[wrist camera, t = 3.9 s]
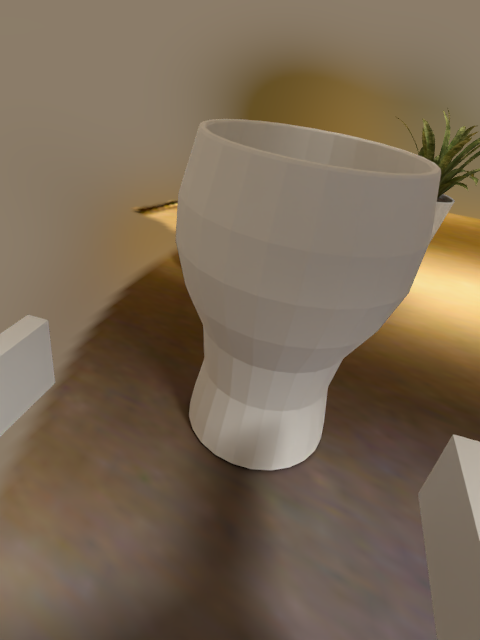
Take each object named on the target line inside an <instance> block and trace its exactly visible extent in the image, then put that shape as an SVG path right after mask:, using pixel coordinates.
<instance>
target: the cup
mask: <svg viewBox="0 0 480 640" xmlns="http://www.w3.org/2000/svg"><path fill="white" fill-rule="evenodd" d="M440 176H441V169H440V168H439V167H438V166H437V165H436V164H435V163H434V162H432V161H430V160H428V159H426V158H424V157H422V156H419V155H416V154H413V153H411V152H408V151H405V150H401V149H399V148H395V147H392V146H389V145H385V144H381V143H378V142H374V141H370V140H366V139H362V138H358V137H353V136H349V135H344V134H340V133H335V132H329V131H324V130H319V129H313V128H307V127H301V126H295V125H289V124H281V123H273V122H265V121H253V120H242V119H217V120H216V119H215V120H208V121H204V122H201V123H200V125H199V128H198V132H197V135H196V138H195V141H194V144H193V148H192V151H191V154H190V158H189V161H188V164H187V167H186V170H185V174H184V177H183V180H182V183H181V187H180V190H179V195H178V210H177V225H176V244H177V249H178V253H179V258H180V262H181V267H182V271H183V276H184V280H185V285H186V288H187V290H188V292H189V295H190V297H191V300H192V302H193V304H194V306H195V308H196V311H197V313H198V315H199V317H200V319H201V321H202V324H203V332H204V361H203V363H202V366H201V369H200V372H199V375H198V378H197V381H196V383H195V386H194V390H193V394H192V397H191V401H190V409H189V418H190V422H191V425H192V429H193V431H194V432H195V434H196V435H197V437H198V438H199V440H200V441H201V443H202V444H204V445H205V446H206V447H207V448H208V449H209V450H210V451H211V452H213V453H214V454H215V455H217V456H219V457H221V458H222V459H224V460H226V461H228V462H230V463H232V464H235V465H239V466H242V467H246V468H249V469H256V470H277V469H283V468H289V467H291V466H294V465H296V464H298V463H300V462H302V461H304V460H305V459H306V458H308V457H309V456H310V455H311V454H312V453H313V452H314V451H315V450H316V448H317V445H318V443H319V441H320V439H321V435H322V430H323V424H324V418H325V409H326V400H327V391H328V386H329V384H330V382H331V381H332V379H333V377H334V375H335V373H336V371H337V369H338V367H339V366H340V364H341V362H342V360H343V358H345V357H346V356H347V355H348V354H350V353H351V352H352V351H353V350H355V349H356V348H357V347H358V346H360V345H361V344H362V343H363V342H365V341H366V340H367V339H368V338H370V337H371V336H372V335H373V334H375V333H376V332H377V331H378V330H379V329H380V327H381V326H382V325H383V324H384V323H385V321H386V320H387V319H388V318H389V316H390V315H391V314H392V313H393V311H394V310H395V309H396V308H397V307H398V305H399V304H400V303H401V302H402V300H403V299H404V298H405V297H406V296H407V294H408V293H409V291H410V288H411V286H412V283H413V281H414V279H415V276H416V274H417V271H418V269H419V266H420V264H421V262H422V259H423V257H424V254H425V252H426V249H427V247H428V245H429V242H430V240H431V237H432V230H433V224H434V217H435V210H436V203H437V197H438V190H439V183H440Z"/></svg>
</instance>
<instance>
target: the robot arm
mask: <svg viewBox="0 0 480 640" xmlns="http://www.w3.org/2000/svg"><path fill="white" fill-rule="evenodd" d="M54 384H55V377H54V368H53V359H52V349H51V340H50V331H49V322H48V320H46V319H43V318H39V317H35V316H32V315H29V314H28V315H26V316H25V317H23V318H22V319H20V320H19V321H18V322H16V323H15V324H13V325H12V326H10V327H9V328H7V329H6V330H5V331H3V332H2V333H1V334H0V437H1V436H2V435H3V434H4V433H5V432H6V431H7V430H8V429H9V428H10V427H11V426H12V425H13V424H14V423H15V422H16V421H17V420H18V419H19V418H20V417H21V416H22V415H23V414H24V413H25V412H26V411H27V410H28V409H29V408H30V407H31V406H32V405H33V404H34V403H35V402H36V401H37V400H38V399H39V398H40V397H42V396H43V395H44V394H45V393H46V392H47V391H48V390H49V389H50V388H51V387H52V386H53V385H54ZM418 497H419V504H420V512H421V520H422V527H423V535H424V543H425V550H426V558H427V566H428V573H429V581H430V589H431V596H432V604H433V612H434V619H435V627H436V635H437V640H480V442H479V441H475V440H472V439H468V438H465V437H461V436H457V435H454V434H453V435H452V437H451V438H450V440H449V442H448V444H447V445H446V447H445V449H444V450H443V452H442V454H441V456H440V457H439V459H438V461H437V462H436V464H435V466H434V467H433V469H432V471H431V473H430V474H429V476H428V478H427V479H426V481H425V483H424V485H423V486H422V488H421V490H420V491H419V493H418Z"/></svg>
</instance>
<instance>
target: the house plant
mask: <svg viewBox="0 0 480 640" xmlns="http://www.w3.org/2000/svg"><path fill="white" fill-rule="evenodd" d="M444 115H445V120H446V131H445V137H444V141H443V145H442V148H441V152H440V155H438V156H437V157H435V159H434V151H435V138H434V134H433V132H432V130H431V128H430V126H429V124H428V122H427V121H425V120H424V119H423V124H424V129H423V132H422V134H423V135H422V143H423V147H422V148H421V150H420V152H419V153H418V155H419V156H422V157H424V158H426V159H428V160H430V161H432V162H434V163H435V164H436V165H437V166H438V167H439V168H440V169H441V176H440V183H439V190H438V197H437V203H436V210H435V217H434V224H433V230H432V237H431V240H432V238H433V236H434V235H435V233H436V231H437V230H438V228H439V226H440V225H441V223H442V222H443V220H444V218H445V217H446V215H447V213H448V211H449V210H450V208H451V206H452V205H453V203H454V202H455V201H454V200H453V199H452V198H451V197H449V196H447V195H444V194H443V193H445V192H446V191H447V190H449V189H450V188H451V187H453V186H454V185H455V184H457V185H460V186H463V187H464V188H466V189H467V190H468V188H467V186H466V185H465V184H463V183H458V182H459V181H461V180H463V179H464V178H466V177H468V176H469V175H471V176H472V177H470V178H472V179H473V180H474V181H475V183H476V184H477V182H478V179H477V178H476V177H474V173H476V172H478V171H480V169H476V170H473V171H470V172H469V171H467V173H466V174H464V175H463V176H458V177H455V178H453V177H454V176H455V175H456V174H457V173H460V172H463V171H465V170H463V168H464V167H465V166H466V165H467V164H468V163H469V162H471V161H472V160H473V159H475V158H476V157H477V156H479V155H480V151H479V152H478V153H476V154H475V155H474V156H472V157H471V158H470V159H469V160H468V161H466V162H465V164H463V165H462V166H461V167H460V168H459V169H454V170H452V169H453V168H454V167H455V166H457V165H458V163H460V162H461V161H462V160H464V159H465V158H466V157H467V156H468V155H469V154H471V153H472V152H474V151H475V150H476V149H477V148H478V147H480V145H479V146H478V147H476V146H477V145H478V144H480V138H479V139H477V140H475V141H474V142H473V143H471V144H470V145H468V146H467V147H466V148H465V149H464V150H463V151H462V152H461V153H460V154H459V155H458V156H457V157H456V158H455V159H454V160H453V161H452V162H451V160H452V158H453V157H454V156H455V154H457V153H458V152H459V151H460V150H461V149H462V148H463V146H464V145H465V144H466V143H467V142H469V141H470V140H471V138H470V139H469V137H471V136H472V135H474V134H476V133H477V132H476V133H473V134H470V135H468V133H469V132H470V131H471V130H472V129H473V128H474V127H475V126H473V127H470V128H468V129H467V130H466V131H465V129H466V127H465V126H464V127H461V128H460V129H459V130H458V132H457V134H456V136H455V137H454V139H453V140H452V142H451V143H450V145H449V139H450V125H449V121H448V118H447V116H446V114H445V113H444ZM398 119H399V118H398ZM407 128H408V127H407ZM408 130H409V129H408ZM409 131H410V130H409ZM410 133H411V132H410ZM411 135H412V134H411ZM467 135H468V136H467ZM466 136H467V137H466ZM412 137H413V136H412ZM448 145H449V146H448ZM416 146H417V145H416ZM474 147H476V148H475V149H473V148H474ZM472 149H473V150H472ZM470 150H472V151H471V152H469V151H470ZM468 152H469V153H468ZM467 153H468V154H467ZM465 154H467V155H466V156H465ZM463 156H465V157H464V158H462V157H463ZM461 158H462V159H461ZM450 162H451V163H450ZM451 170H452V171H451ZM452 178H453V179H452ZM431 240H430V241H431ZM429 243H430V242H429Z"/></svg>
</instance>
